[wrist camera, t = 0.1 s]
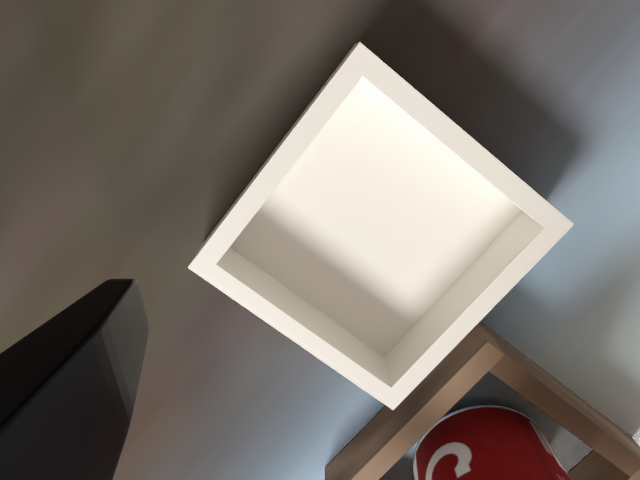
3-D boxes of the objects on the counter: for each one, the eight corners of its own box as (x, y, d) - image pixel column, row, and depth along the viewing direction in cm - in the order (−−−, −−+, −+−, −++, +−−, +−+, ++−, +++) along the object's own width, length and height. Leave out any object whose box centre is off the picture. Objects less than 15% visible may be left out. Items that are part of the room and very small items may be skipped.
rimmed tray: (385, 372, 26) (393, 410, 24) (203, 243, 24) (187, 267, 22) (544, 204, 24) (574, 224, 21) (354, 43, 22) (359, 41, 19)
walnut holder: (481, 569, 30) (494, 612, 28) (324, 468, 28) (325, 505, 26) (632, 438, 28) (661, 474, 25) (472, 315, 26) (487, 342, 23)
